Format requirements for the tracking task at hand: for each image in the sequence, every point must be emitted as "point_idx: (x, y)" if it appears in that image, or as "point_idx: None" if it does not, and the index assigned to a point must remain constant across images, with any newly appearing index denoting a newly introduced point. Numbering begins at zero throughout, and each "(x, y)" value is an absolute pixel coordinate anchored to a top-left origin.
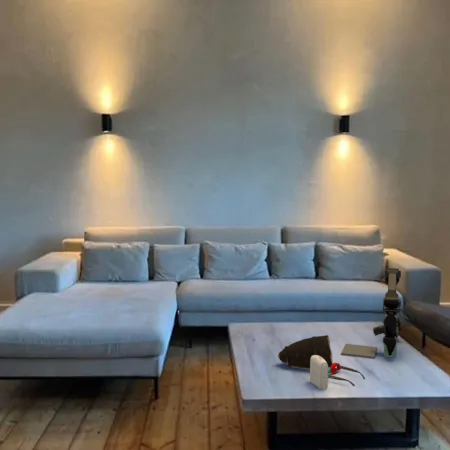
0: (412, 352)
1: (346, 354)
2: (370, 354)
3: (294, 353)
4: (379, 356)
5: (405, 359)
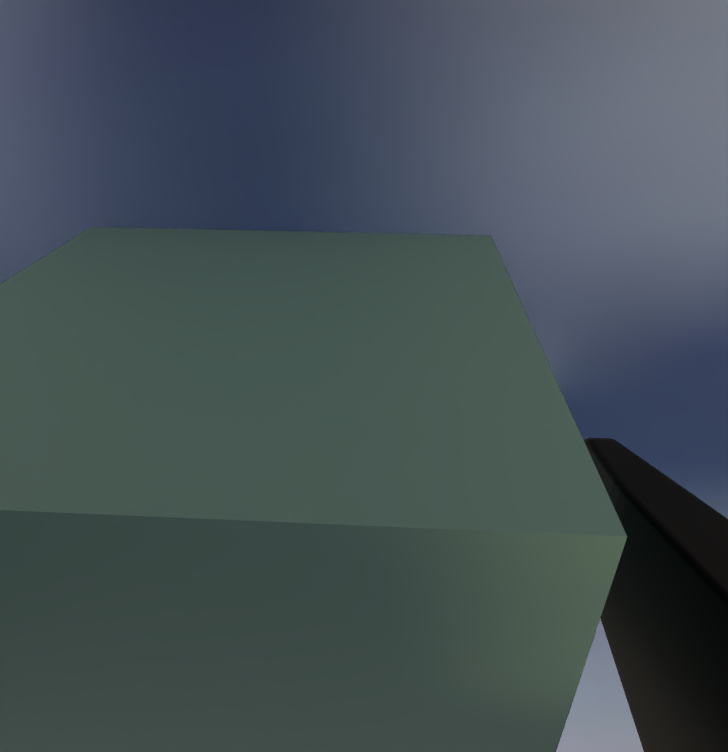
0: (636, 737)
1: None
2: None
3: None
4: (12, 82)
5: None
